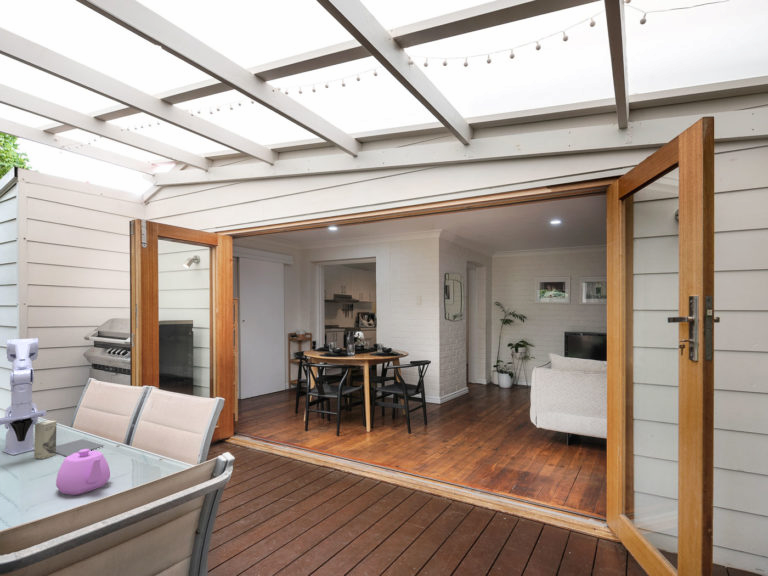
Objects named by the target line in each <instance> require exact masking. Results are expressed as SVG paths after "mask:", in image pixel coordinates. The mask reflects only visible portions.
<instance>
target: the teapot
mask: <svg viewBox="0 0 768 576" xmlns="http://www.w3.org/2000/svg"><path fill="white" fill-rule="evenodd" d="M89 450H90V449H82V450H80V451H78V452H79V453H73V454H71V455H70V456H67V457H65V458H64V460H63V461H62V463H61V465H60V468H59V470H58V473H57V475H56V481H55V482H56V483H55V487H56V488H57V489H58V490H59V492H61V493H62V494H64V495H71V496H79V495H81V494H85V493H87V492H91V491H94V490H96V489H99V488H102V487H104V486H106V485H107V483H108V481H109V480H110V478H111V470H110V466H109V463H108V461H107V459H106V457H105V456H104V454H103V453H102V452H100V451H98V450H92V451H89Z"/></svg>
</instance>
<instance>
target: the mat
mask: <svg viewBox="0 0 768 576" xmlns="http://www.w3.org/2000/svg"><path fill="white" fill-rule="evenodd" d="M103 446H105V445H103V444H101V443H96V442H93V441H90V440H87V439H83V438H81V439H78V440H74V441H70V442H65V443H63V444H58V445H56V455H59V456H62V457H65V458H66V457H67V456H70V455H71V454H73V453H79V452H78V451H80V450H82V449H90V450H92V451H95V450H98V449H97V448H99V449H101V448H100V447H102V448H104V447H103ZM94 449H95V450H94ZM90 450H89V451H90Z"/></svg>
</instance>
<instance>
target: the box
mask: <svg viewBox="0 0 768 576" xmlns="http://www.w3.org/2000/svg"><path fill="white" fill-rule="evenodd" d="M57 422H58V421H57V420H50V419H49V420H45V421H41V422H38V423H37V424H35V425H34V443H33V446H34V450H33V451H34V452H33V453H34V454H33V458H34V459H36V458H38V460H44V459H47V458H50V457H53V456H57V454H56V446H57V424H58V423H57Z"/></svg>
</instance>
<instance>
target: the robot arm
mask: <svg viewBox="0 0 768 576" xmlns="http://www.w3.org/2000/svg"><path fill="white" fill-rule="evenodd" d="M38 355H39V338H37V337H35V338H34V337H33V338H32V337H31V338H11V339H10V338H9V339H7V340H6V358H7V362H11V363H12V364H11V372H10V373H9V385H10V392H11V394H10V395H11V397H10V399H11V400H10V405H9V406H8V407H7V408H6V409H5V414H4V417H1V418H0V426H2V425H4V429H6V430H7V432H6V433H5V449H2V450H1V451H2V452H3V453H6V454H9V455H11V456H15V455H19V454H24V453H27V452H28V453H29V452H31V451H34V428H35V424H37V423H39V422H38V421H39V419H38V418H41V417H43V418H44V417H47V410H44V409H43V410H38V405H37V404H36V403H34V402H33V384H34V381H35V372H34V368H33V361H35V360H37V359H38V358H37V357H39V356H38Z"/></svg>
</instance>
